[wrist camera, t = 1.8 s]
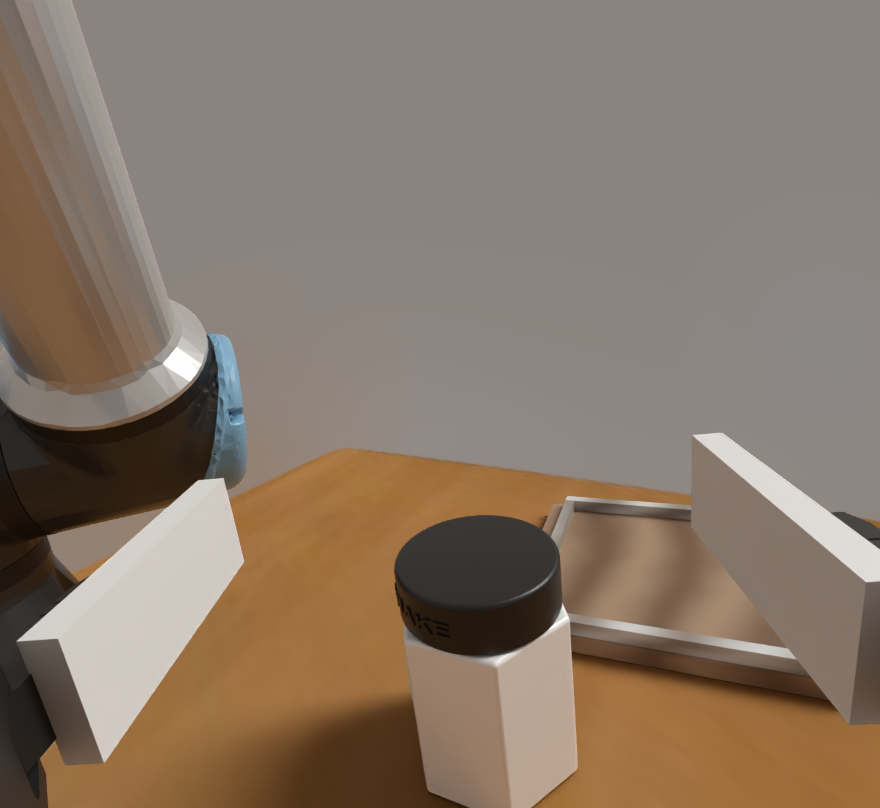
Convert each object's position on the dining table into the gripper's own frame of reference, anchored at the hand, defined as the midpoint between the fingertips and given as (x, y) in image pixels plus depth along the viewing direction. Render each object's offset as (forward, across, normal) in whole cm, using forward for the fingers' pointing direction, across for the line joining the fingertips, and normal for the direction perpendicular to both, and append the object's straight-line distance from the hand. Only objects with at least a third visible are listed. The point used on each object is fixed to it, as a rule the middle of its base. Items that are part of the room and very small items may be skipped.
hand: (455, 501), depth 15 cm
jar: (+10, 0, -20) cm, 22 cm away
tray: (+23, +14, -20) cm, 33 cm away
